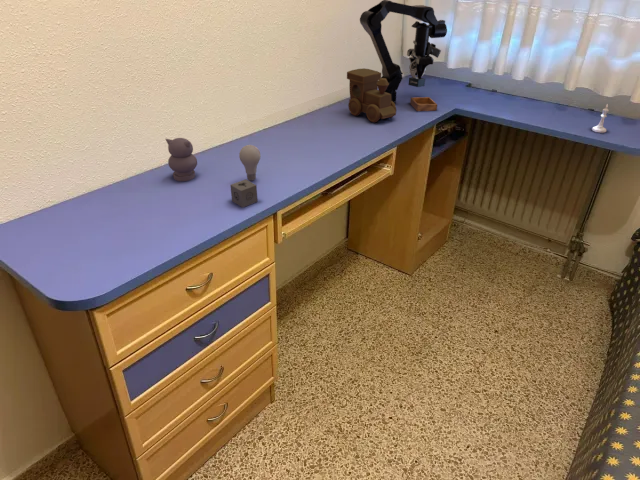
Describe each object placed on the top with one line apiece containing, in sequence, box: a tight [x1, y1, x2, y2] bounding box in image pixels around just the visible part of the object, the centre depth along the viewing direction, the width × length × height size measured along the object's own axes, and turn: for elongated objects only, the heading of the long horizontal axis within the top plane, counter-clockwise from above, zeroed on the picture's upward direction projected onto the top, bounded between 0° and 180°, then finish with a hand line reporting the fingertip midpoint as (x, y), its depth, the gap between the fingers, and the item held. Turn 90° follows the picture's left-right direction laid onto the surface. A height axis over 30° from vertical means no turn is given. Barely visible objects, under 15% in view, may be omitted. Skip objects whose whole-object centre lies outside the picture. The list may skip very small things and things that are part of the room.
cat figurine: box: [165, 137, 198, 182], centre depth 143 cm, size 8×8×12 cm
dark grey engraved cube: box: [229, 179, 258, 208], centre depth 131 cm, size 5×5×5 cm
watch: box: [407, 59, 427, 88], centre depth 210 cm, size 6×8×11 cm
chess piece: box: [591, 103, 609, 134], centre depth 181 cm, size 5×5×10 cm
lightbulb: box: [238, 144, 261, 182], centre depth 141 cm, size 6×6×11 cm
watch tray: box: [409, 96, 438, 112], centre depth 206 cm, size 8×11×3 cm
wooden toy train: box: [346, 68, 397, 123], centre depth 191 cm, size 20×11×17 cm, turn 40°
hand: (417, 77), depth 211 cm, fingers closed on watch, 5 cm apart
